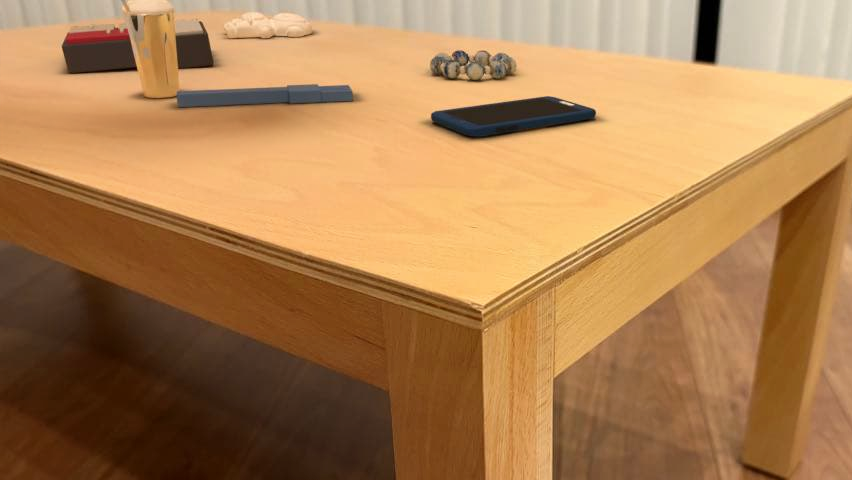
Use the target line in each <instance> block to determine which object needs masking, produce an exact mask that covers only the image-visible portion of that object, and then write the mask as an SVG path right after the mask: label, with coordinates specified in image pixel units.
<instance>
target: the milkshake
mask: <svg viewBox="0 0 852 480" xmlns="http://www.w3.org/2000/svg"><path fill="white" fill-rule="evenodd" d="M120 2H121V3H122V7H121V13H122V15H123V20H124V23H126V27H127V30H128V34H129V37H130V41H131V45H132V49H133V53H134V57H135V61H136V65H137V67H136V69H137V72H138V77H139V80H140V85H141V88H142V93H143V96H144V97H147V98H150V99H151V98H152V99H166V98H167V99H169V98H172V97H177V96H176V95H177V91H181V87H180V76H179V68H178V61H177V49H176V35H175V21H176V18H175V17H176V15H175V7H174V5H172V3H171V2H170V1H169V0H127V1H126V0H120Z"/></svg>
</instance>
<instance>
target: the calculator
mask: <svg viewBox="0 0 852 480" xmlns="http://www.w3.org/2000/svg"><path fill="white" fill-rule="evenodd" d="M175 35H176V49H177V61H178V69H189V68H197V67H209V66H213V65H214V58H213V52H212V48H211V47H212V46H211V42H210V38H209V33H208V30H207V29H206V26H205V25H204V23H203V22H202V21H201V20H200V21H199V19H197V18H189V19H178V20H176V19H175ZM64 37H65V38H64V40H63V42H62V44H61V49H62V54H63V58H64V62H65V65H66V69H67V71H68V73H69V74H76V73H87V72H96V71H97V72H98V71H107V70H119V69H128V68H130V69H131V68H137V65H136V61H135V57H134V53H133V49H132V45H131V41H130V37H129V34H128V30H127V27H126V23H125V22H120V23H118V27H116V26H115V23H105V24H104V23H103V24H90V25H79V26H78V25H77V26H71V27H70V28H69V30H68V32H67V33H66V35H65V36H64Z"/></svg>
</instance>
